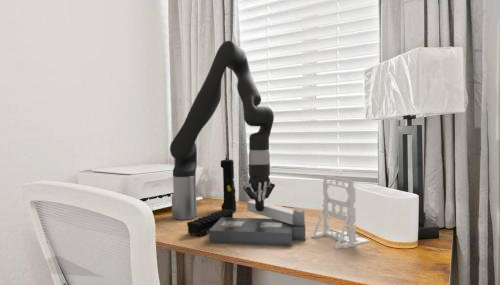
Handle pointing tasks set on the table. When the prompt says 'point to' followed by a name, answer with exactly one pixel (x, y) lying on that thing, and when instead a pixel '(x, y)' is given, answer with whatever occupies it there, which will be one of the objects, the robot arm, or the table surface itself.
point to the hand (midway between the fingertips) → (259, 210)
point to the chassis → (255, 232)
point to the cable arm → (279, 213)
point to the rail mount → (207, 222)
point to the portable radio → (228, 185)
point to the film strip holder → (340, 215)
